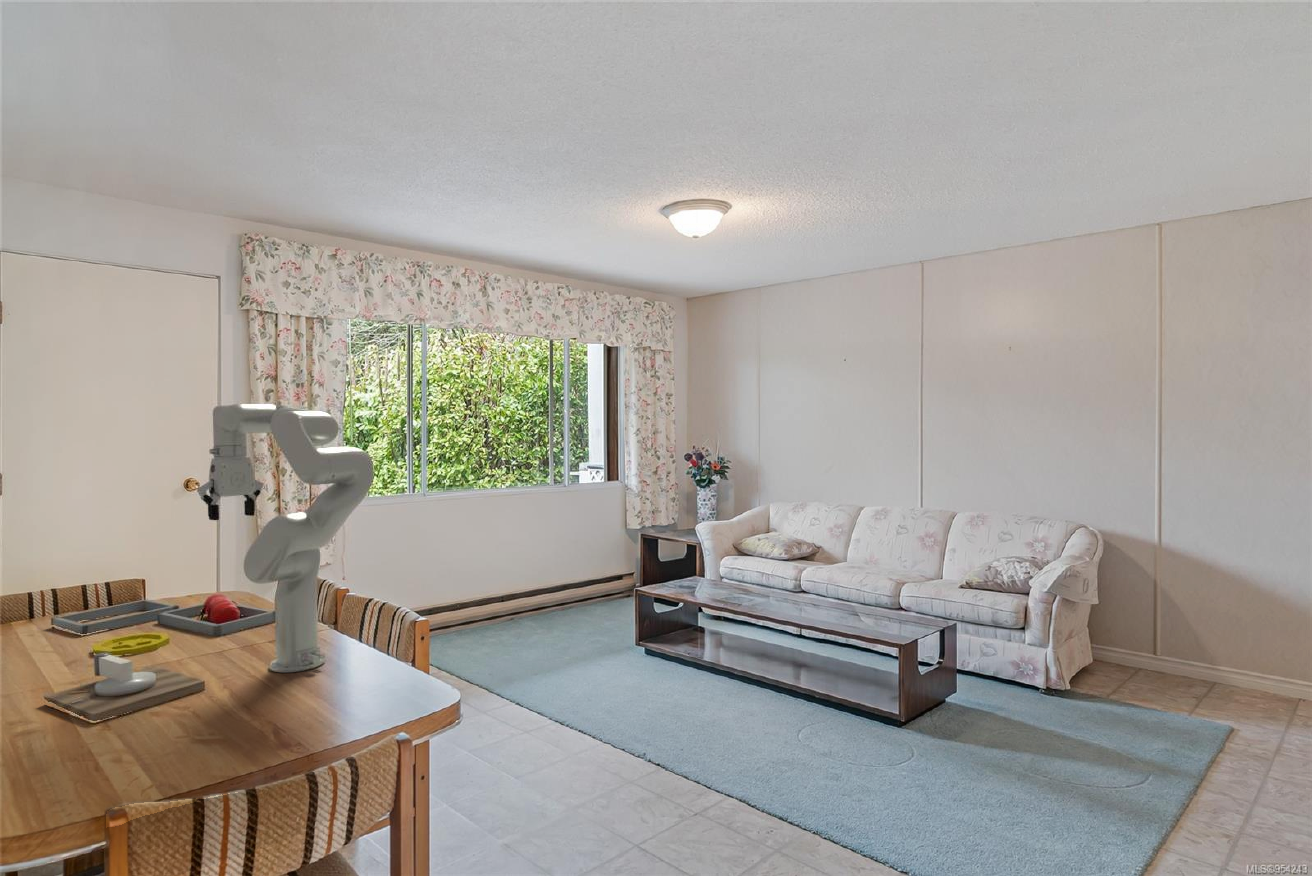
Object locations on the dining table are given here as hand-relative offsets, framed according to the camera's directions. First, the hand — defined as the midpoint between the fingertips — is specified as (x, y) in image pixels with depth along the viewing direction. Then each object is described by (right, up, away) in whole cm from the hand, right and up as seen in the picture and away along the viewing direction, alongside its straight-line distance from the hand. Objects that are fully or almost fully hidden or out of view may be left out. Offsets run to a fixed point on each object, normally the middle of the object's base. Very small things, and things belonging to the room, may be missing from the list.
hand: (232, 517), depth 197 cm
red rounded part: (-23, -36, +32) cm, 54 cm away
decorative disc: (-32, -37, +8) cm, 49 cm away
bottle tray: (-23, -36, +33) cm, 53 cm away
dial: (-9, -34, -29) cm, 46 cm away
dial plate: (-6, -37, -30) cm, 48 cm away
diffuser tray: (-56, -36, +36) cm, 75 cm away
